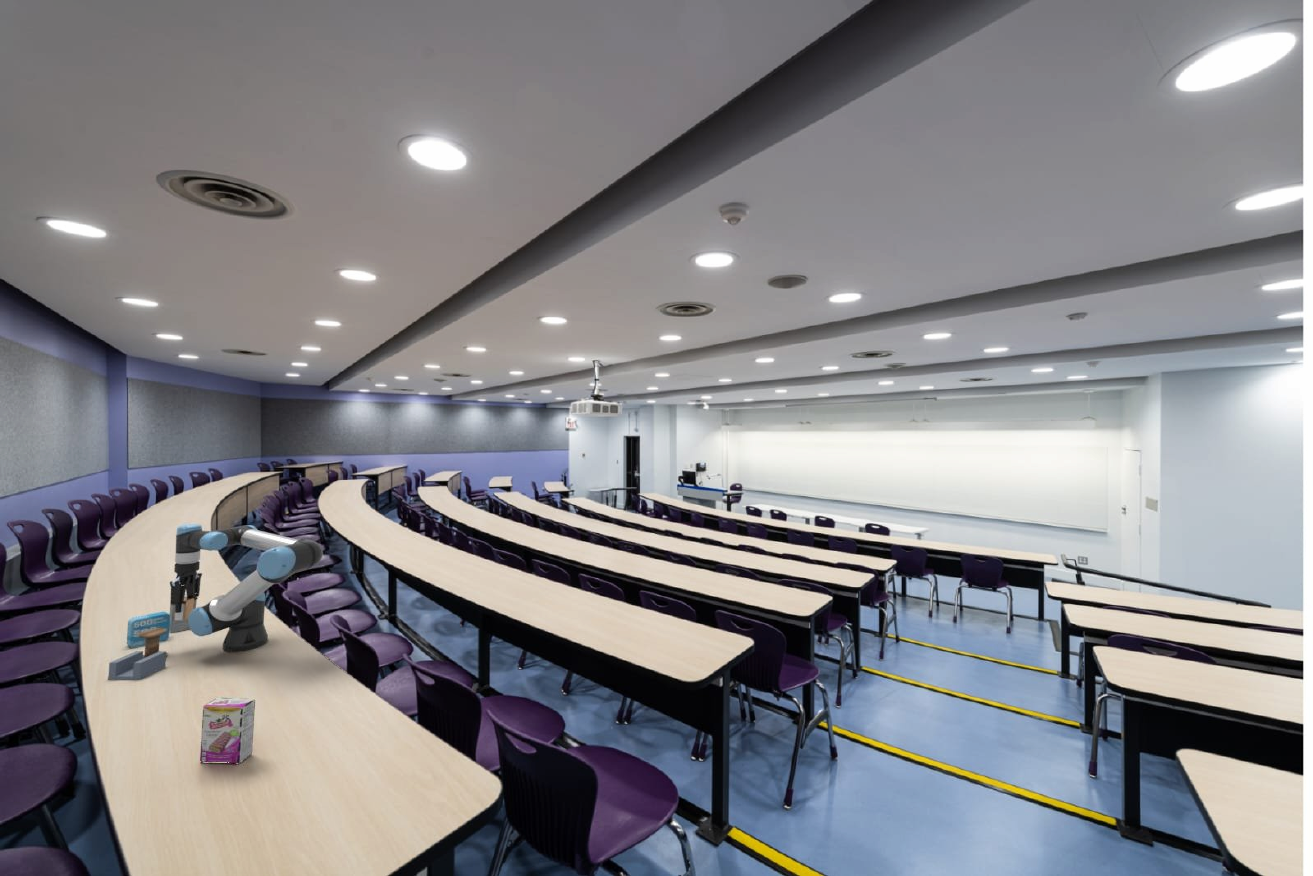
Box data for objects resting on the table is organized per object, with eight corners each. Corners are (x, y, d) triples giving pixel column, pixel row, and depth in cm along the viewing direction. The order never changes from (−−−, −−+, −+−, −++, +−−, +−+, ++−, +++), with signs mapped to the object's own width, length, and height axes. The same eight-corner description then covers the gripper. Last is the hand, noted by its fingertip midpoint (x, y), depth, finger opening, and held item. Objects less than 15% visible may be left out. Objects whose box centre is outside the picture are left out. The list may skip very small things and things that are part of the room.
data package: (129, 649, 202) (131, 620, 202) (126, 646, 204) (128, 618, 205) (168, 640, 212) (170, 612, 213) (165, 637, 215) (167, 610, 215)
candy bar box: (198, 764, 135) (201, 706, 136) (213, 753, 140) (217, 696, 141) (238, 765, 136) (242, 707, 136) (253, 754, 141) (256, 697, 141)
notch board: (165, 667, 188) (166, 651, 188) (139, 679, 178) (140, 663, 179) (135, 667, 188) (136, 651, 188) (108, 679, 178) (109, 662, 178)
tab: (192, 616, 203) (194, 597, 203) (185, 620, 199) (186, 601, 200) (182, 616, 203) (183, 597, 203) (174, 620, 199) (175, 601, 199)
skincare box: (170, 633, 219) (172, 598, 219) (167, 629, 223) (169, 595, 223) (195, 628, 226) (197, 594, 226) (192, 624, 230) (194, 591, 230)
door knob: (173, 654, 199) (175, 627, 200) (152, 664, 190) (154, 636, 191) (150, 654, 199) (151, 627, 199) (128, 664, 190) (129, 636, 190)
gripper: (193, 556, 209) (190, 610, 209) (159, 567, 193) (155, 625, 192) (213, 557, 211) (210, 610, 210) (180, 567, 194) (177, 625, 193)
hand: (184, 617), depth 201 cm, fingers closed on tab, 4 cm apart
